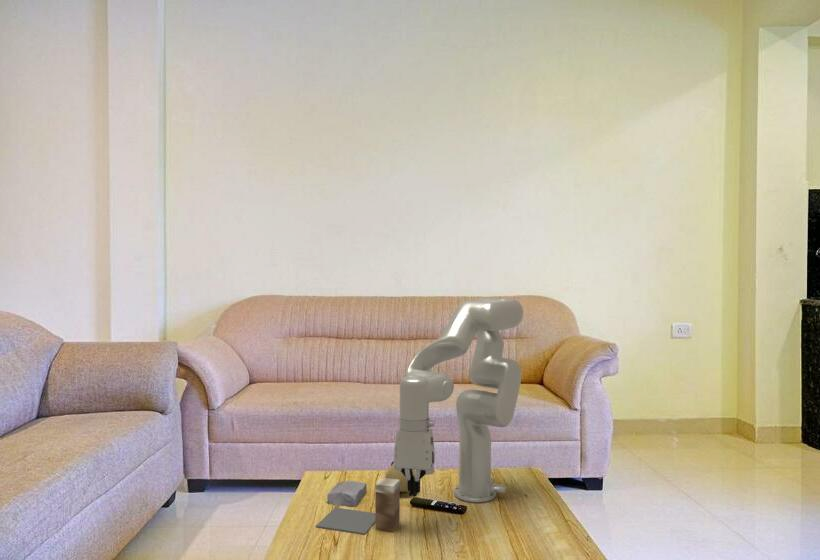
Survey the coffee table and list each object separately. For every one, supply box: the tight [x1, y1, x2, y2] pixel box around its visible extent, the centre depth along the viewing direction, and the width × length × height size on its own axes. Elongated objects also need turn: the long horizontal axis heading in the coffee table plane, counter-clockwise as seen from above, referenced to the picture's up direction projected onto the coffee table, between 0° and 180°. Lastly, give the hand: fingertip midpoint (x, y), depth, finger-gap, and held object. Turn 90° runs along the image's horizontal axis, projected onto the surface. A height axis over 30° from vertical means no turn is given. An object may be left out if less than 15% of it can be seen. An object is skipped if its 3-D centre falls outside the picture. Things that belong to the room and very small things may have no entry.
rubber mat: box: [315, 506, 375, 536], centre depth 154 cm, size 14×12×1 cm
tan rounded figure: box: [384, 460, 416, 493], centre depth 175 cm, size 10×12×11 cm
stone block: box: [326, 480, 368, 507], centre depth 170 cm, size 12×5×10 cm
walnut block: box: [374, 477, 401, 533], centre depth 151 cm, size 5×5×12 cm
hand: (413, 494), depth 149 cm, fingers closed
